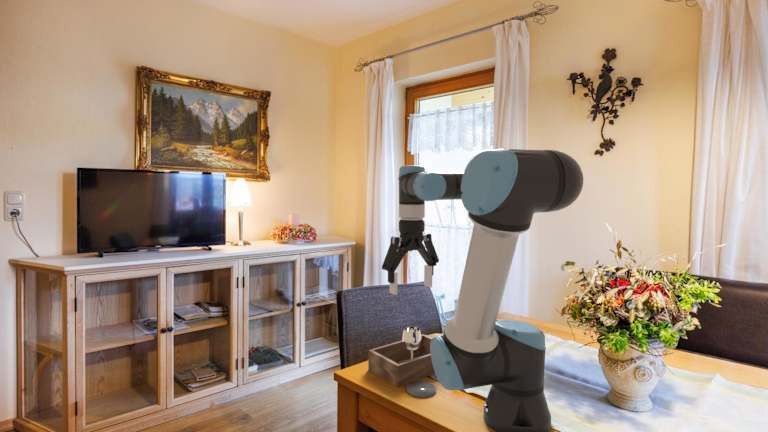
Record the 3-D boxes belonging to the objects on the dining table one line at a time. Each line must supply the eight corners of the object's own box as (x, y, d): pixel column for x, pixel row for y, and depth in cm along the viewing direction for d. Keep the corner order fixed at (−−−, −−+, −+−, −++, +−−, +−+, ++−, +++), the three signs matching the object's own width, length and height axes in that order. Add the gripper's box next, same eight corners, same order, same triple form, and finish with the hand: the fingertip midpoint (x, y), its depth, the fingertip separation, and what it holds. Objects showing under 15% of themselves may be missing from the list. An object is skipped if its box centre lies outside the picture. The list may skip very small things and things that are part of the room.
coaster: (442, 391, 116) (442, 389, 116) (420, 400, 111) (420, 398, 111) (422, 380, 122) (422, 378, 122) (400, 388, 117) (400, 386, 117)
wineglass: (424, 366, 131) (424, 328, 130) (415, 373, 126) (415, 333, 125) (408, 362, 134) (408, 324, 133) (398, 369, 130) (398, 330, 129)
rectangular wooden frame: (454, 366, 132) (454, 347, 131) (397, 387, 118) (398, 366, 118) (423, 351, 143) (423, 334, 142) (368, 369, 129) (368, 350, 129)
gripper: (433, 215, 137) (433, 281, 139) (369, 220, 122) (369, 294, 124) (450, 217, 131) (450, 286, 133) (385, 222, 116) (385, 300, 118)
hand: (411, 290), depth 129 cm, fingers open, 13 cm apart
